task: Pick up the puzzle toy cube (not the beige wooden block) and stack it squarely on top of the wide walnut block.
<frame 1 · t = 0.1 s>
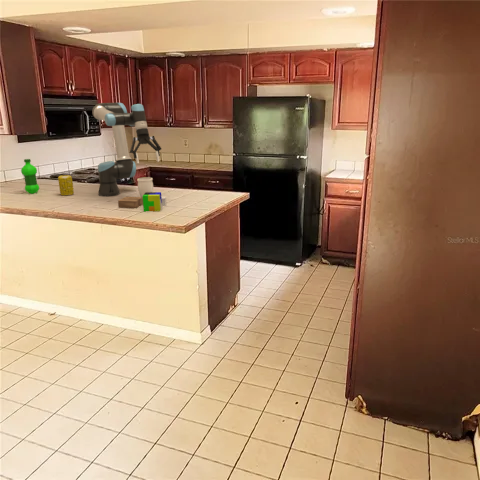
hand: (148, 162, 269), 28 cm above the counter, tool tilted 20°, fingers open, 13 cm apart
walnut block: (131, 206, 277), on the counter
jar: (146, 200, 292), on the counter
puzzle toy: (153, 209, 268), on the counter
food: (67, 195, 311), on the counter
plastic bottle: (32, 193, 318), on the counter
beige wooden block: (162, 205, 279), on the counter
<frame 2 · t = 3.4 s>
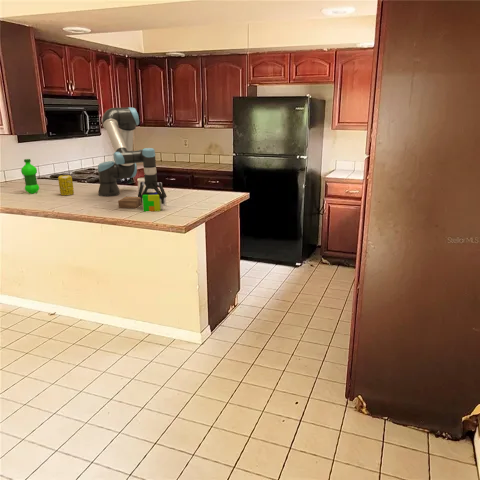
hand: (153, 208, 267), 1 cm above the counter, tool pointing down, fingers closed on puzzle toy, 11 cm apart
puzzle toy: (153, 209, 268), on the counter, touching gripper
everything else where it was.
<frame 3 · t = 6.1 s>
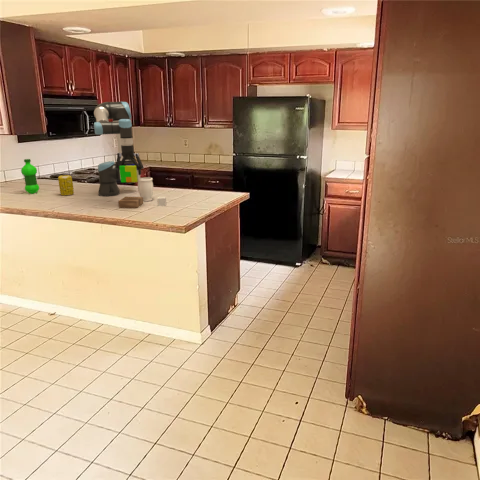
hand: (130, 179, 271), 17 cm above the counter, tool pointing down, fingers closed on puzzle toy, 11 cm apart
puzzle toy: (130, 180, 271), point 17 cm above the counter, touching gripper
everything else where it was.
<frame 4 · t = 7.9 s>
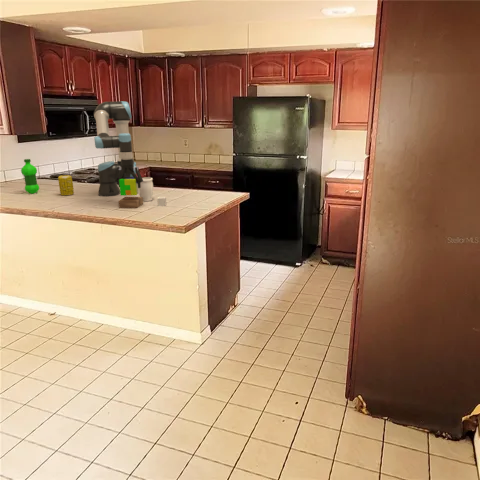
hand: (130, 192, 274), 9 cm above the counter, tool pointing down, fingers closed on puzzle toy, 11 cm apart
puzzle toy: (130, 193, 274), point 8 cm above the counter, touching gripper
everything else where it was.
when the fingers open (7 cm above the counter, at t = 9.2 s): puzzle toy drops 2 cm, point 4 cm above the counter.
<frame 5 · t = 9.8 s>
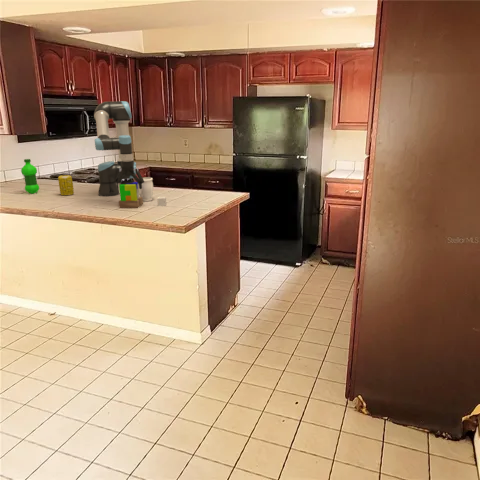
hand: (130, 193, 274), 8 cm above the counter, tool pointing down, fingers open, 13 cm apart
puzzle toy: (130, 199, 276), point 4 cm above the counter
everything else where it was.
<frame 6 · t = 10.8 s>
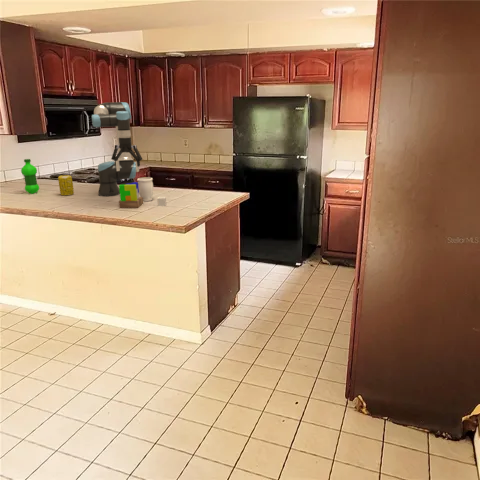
hand: (128, 171, 270), 23 cm above the counter, tool pointing down, fingers open, 13 cm apart
walnut block: (131, 206, 277), on the counter, touching puzzle toy
puzzle toy: (130, 199, 275), point 4 cm above the counter, touching walnut block
everything else where it was.
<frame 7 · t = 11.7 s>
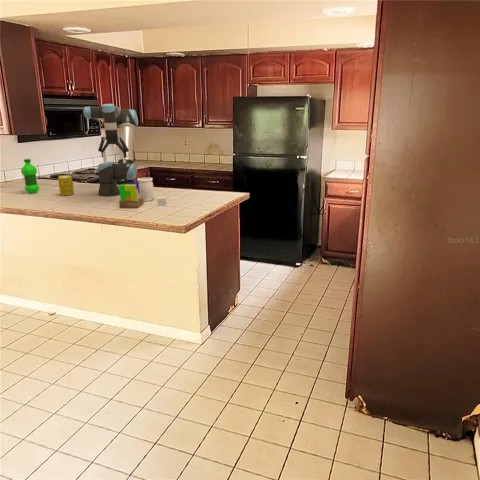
hand: (114, 162, 278), 27 cm above the counter, tool pointing down, fingers open, 13 cm apart
nothing on the counter moved.
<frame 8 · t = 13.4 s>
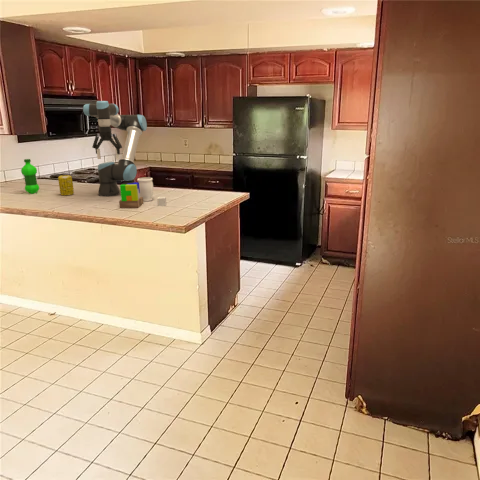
hand: (108, 159, 280), 29 cm above the counter, tool pointing down, fingers open, 13 cm apart
nothing on the counter moved.
at the end: puzzle toy inside the target area on the walnut block (0.9 cm from its centre), point 4.8 cm above the walnut block's base; puzzle toy tilted 1°; the gripper is holding nothing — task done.
